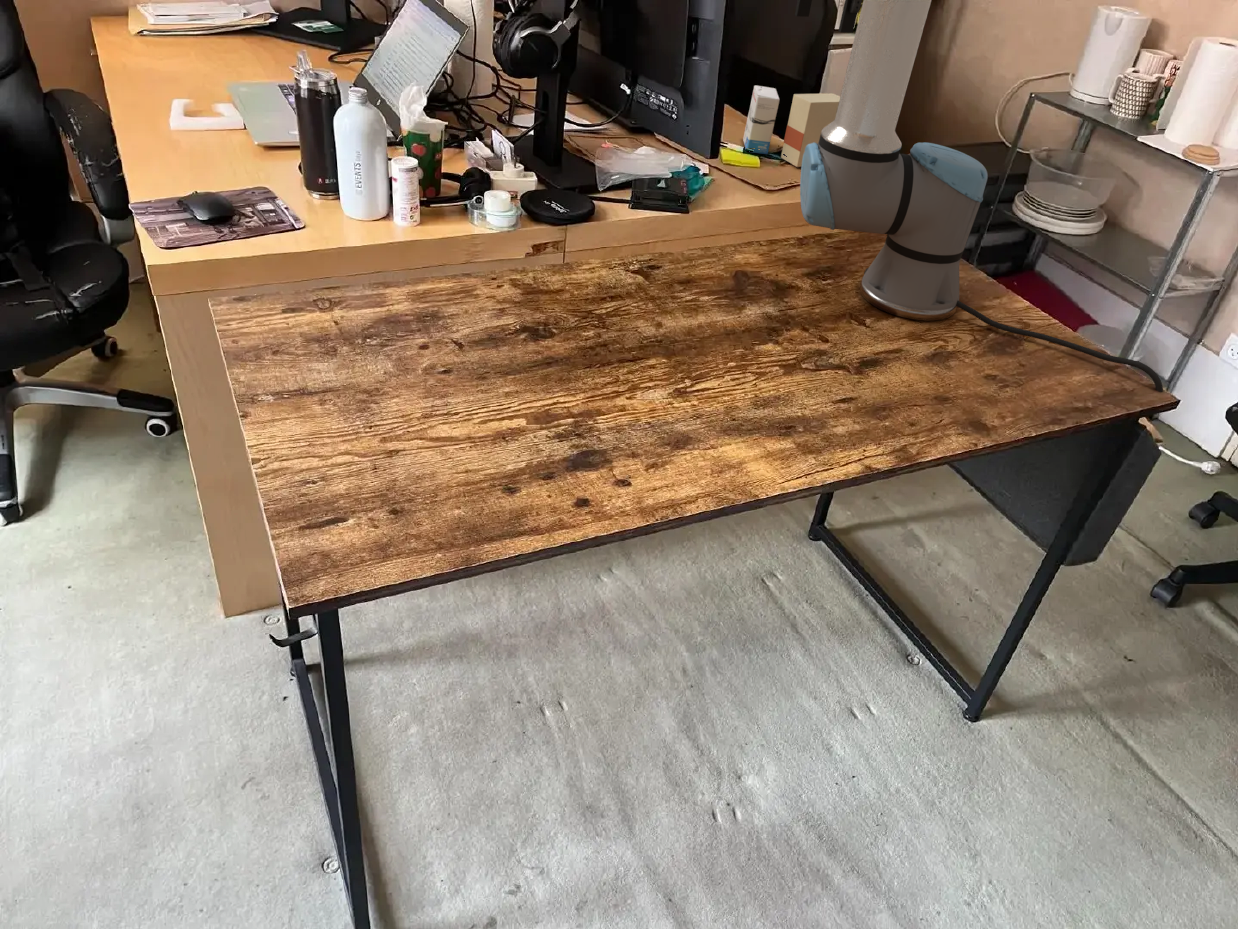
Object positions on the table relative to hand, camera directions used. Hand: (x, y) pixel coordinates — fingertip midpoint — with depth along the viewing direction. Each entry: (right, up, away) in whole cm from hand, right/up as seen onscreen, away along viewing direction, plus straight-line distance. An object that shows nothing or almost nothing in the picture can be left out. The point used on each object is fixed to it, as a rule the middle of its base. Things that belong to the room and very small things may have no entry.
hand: (822, 24), depth 165 cm
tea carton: (+4, -10, +24) cm, 26 cm away
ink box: (-8, -11, +32) cm, 35 cm away
